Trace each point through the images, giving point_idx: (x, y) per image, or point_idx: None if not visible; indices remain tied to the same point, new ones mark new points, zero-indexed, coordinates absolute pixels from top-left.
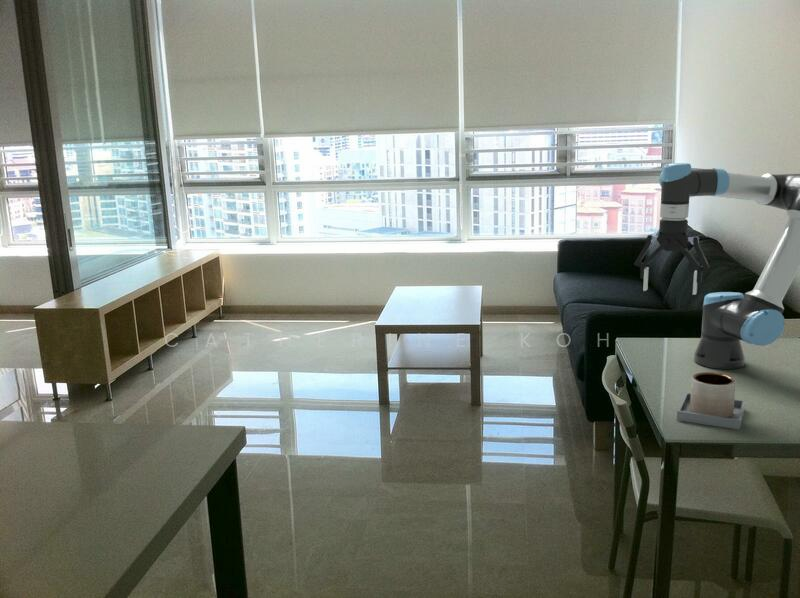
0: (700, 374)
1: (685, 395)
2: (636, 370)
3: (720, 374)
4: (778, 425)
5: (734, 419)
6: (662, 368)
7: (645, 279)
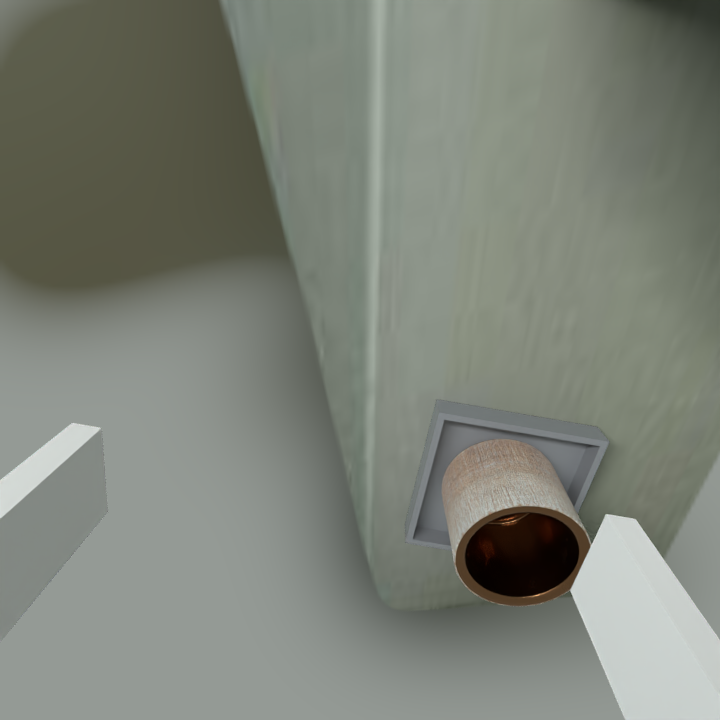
0: (485, 524)
1: (436, 435)
2: (267, 107)
3: (555, 517)
4: (653, 510)
5: None
6: (371, 39)
7: (2, 625)
